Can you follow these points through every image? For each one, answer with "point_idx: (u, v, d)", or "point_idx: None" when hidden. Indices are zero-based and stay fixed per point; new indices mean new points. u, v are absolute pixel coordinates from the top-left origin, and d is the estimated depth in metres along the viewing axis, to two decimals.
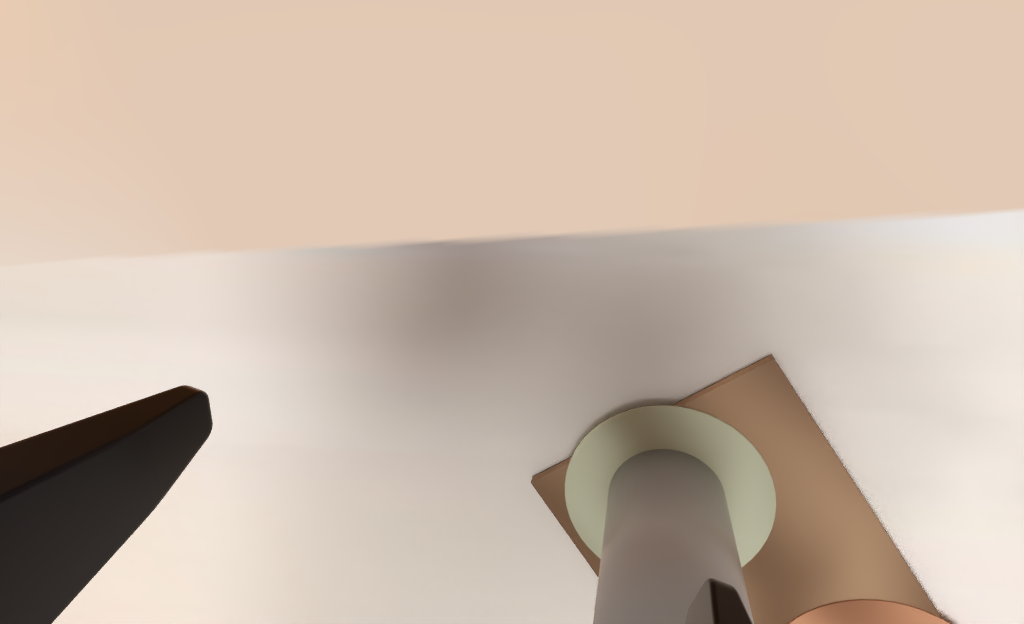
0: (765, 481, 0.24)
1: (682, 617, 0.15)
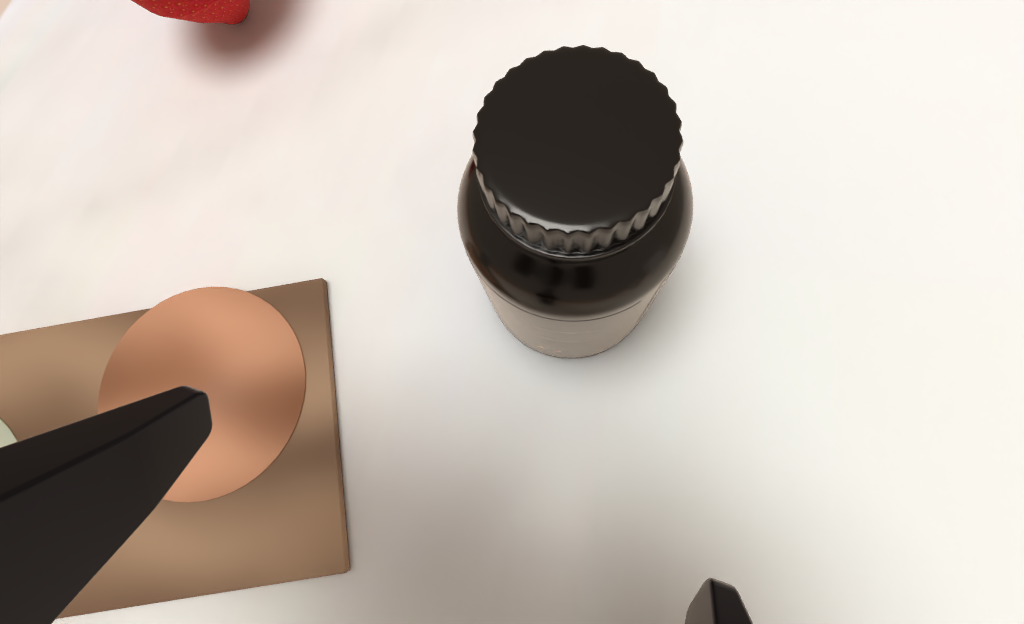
0: None
1: None
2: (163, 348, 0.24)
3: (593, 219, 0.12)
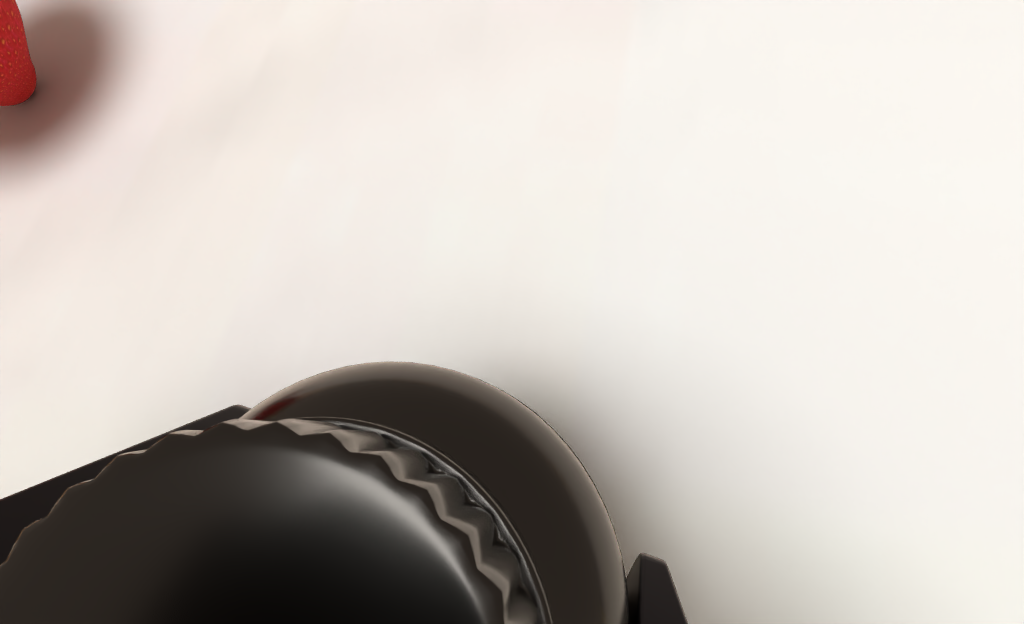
0: None
1: None
2: None
3: None
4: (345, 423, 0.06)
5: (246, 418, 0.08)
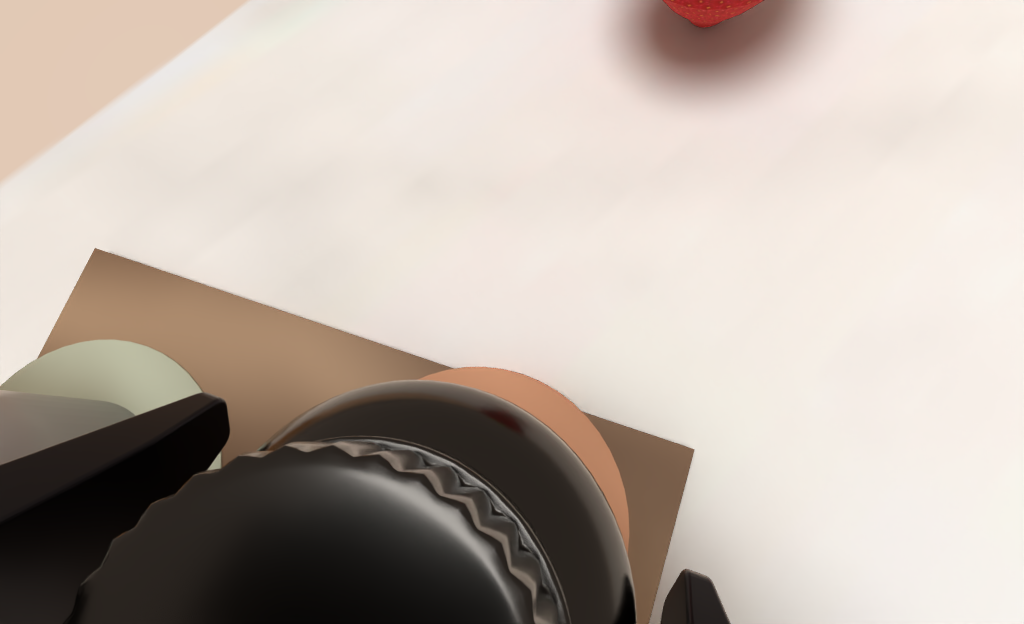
0: (168, 368, 0.18)
1: None
2: None
3: None
4: (383, 441, 0.07)
5: (283, 433, 0.08)
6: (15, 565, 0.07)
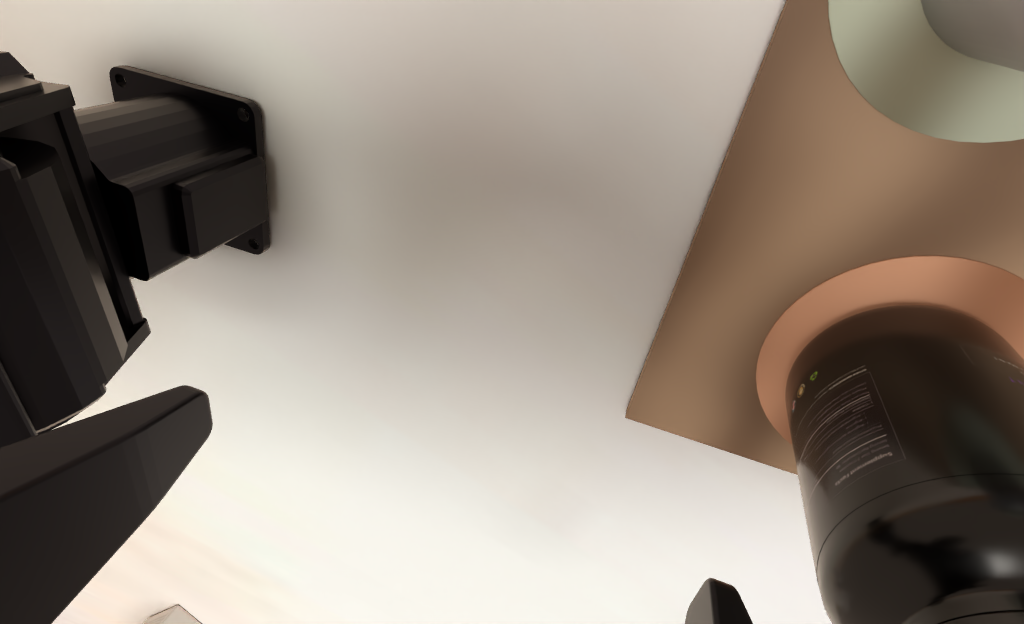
0: None
1: None
2: None
3: None
4: None
5: None
6: None
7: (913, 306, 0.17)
